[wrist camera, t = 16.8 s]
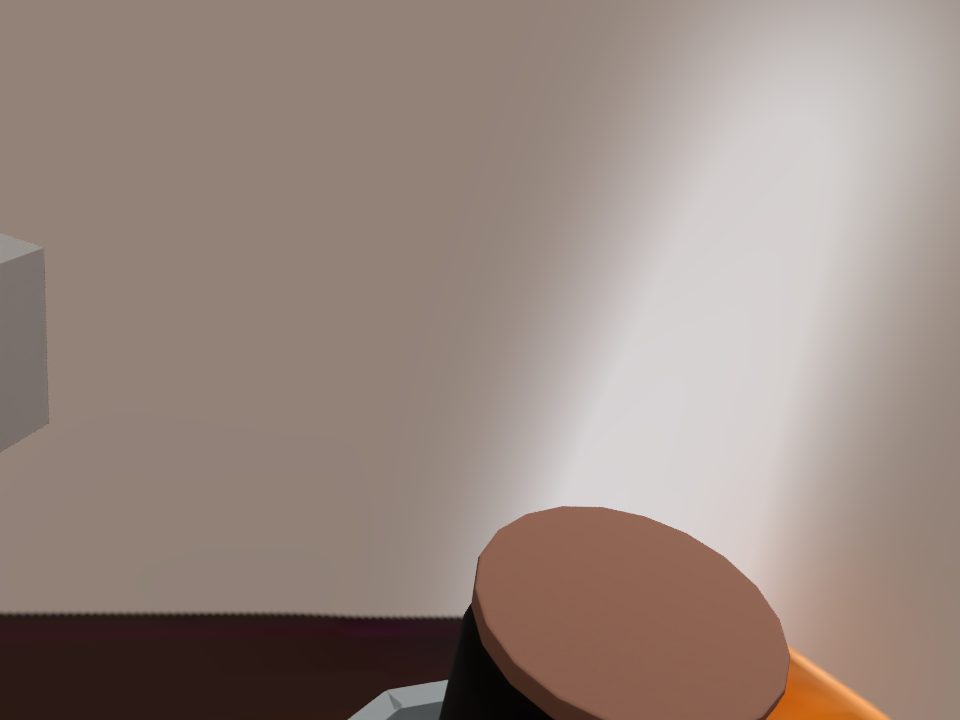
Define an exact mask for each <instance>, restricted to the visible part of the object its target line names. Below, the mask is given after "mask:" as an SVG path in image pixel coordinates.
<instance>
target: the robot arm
mask: <svg viewBox="0 0 960 720" xmlns="http://www.w3.org/2000/svg"><path fill="white" fill-rule="evenodd" d="M45 302H46V301H45V267H44V248H43V247H40V246H37V245H34V244H31V243H28V242H25V241H22V240H19V239H16V238H13V237H10V236H7V235H4V234H1V233H0V452H2V451H3V450H5V449H7V448H8V447H10V446H12V445H13V444H15V443H17V442H18V441H20V440H22V439H23V438H25V437H27V436H28V435H30V434H32V433H33V432H35V431H37V430H38V429H40V428H42V427H43V426H45V425H47V424H48V423H49V408H48V375H47V374H48V373H47V338H46V303H45Z"/></svg>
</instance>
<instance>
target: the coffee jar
mask: <svg viewBox="0 0 960 720" xmlns="http://www.w3.org/2000/svg"><path fill="white" fill-rule="evenodd" d="M789 662H790V653H789V650H788V647H787V643H786V640H785V637H784V633H783V630H782V626H781V623H780V620H779V618H778V617H777V615H776V614H775V612H774V611H773V610H772V608H771V607H770V605H769V604H768V602H767V601H766V600H765V598H764V596H763V595H762V594H761V592H760V591H759V589H758V588H757V587H756V585H755V584H753V583H752V582H751V581H750V580H749V579H748V578H747V577H746V576H745V575H744V574H743V573H741V572H740V571H739V570H738V569H737V568H736V567H735V566H734V565H733V564H732V563H731V562H729V561H728V560H727V559H726V558H725V557H724V556H722V555H721V554H719V553H717V552H716V551H714V550H712V549H711V548H709V547H708V546H706V545H704V544H703V543H701V542H700V541H698V540H696V539H694V538H693V537H691V536H690V535H688V534H687V533H684V532H682V531H679V530H677V529H674V528H672V527H669V526H667V525H665V524H662V523H660V522H657V521H655V520H652V519H650V518H647V517H644V516H640V515H636V514H630V513H626V512H622V511H617V510H612V509H608V508H603V507H566V506H562V507H558V508H553V509H548V510H544V511H539V512H534V513H529V514H526V515H524V516H523V517H521V518H519V519H517V520H516V521H514V522H512V523H510V524H509V525H507V526H505V527H503V528H502V529H500V530H498V532H497V533H496V534H495V535H494V537H493V538H492V540H491V541H490V542H489V544H488V545H487V546H486V548H485V549H484V550H483V552H482V553H481V555H480V556H479V557H478V563H477V570H476V576H475V583H474V590H473V597H472V603H471V604H470V606H469V607H468V609H467V611H466V612H465V614H464V617H463V621H462V625H461V629H460V634H459V638H458V642H457V646H456V650H455V654H454V658H453V662H452V667H451V671H450V675H449V679H448V683H447V687H446V691H445V696H444V700H443V704H442V708H441V712H440V716H439V720H766V718H767V717H768V716H769V715H770V713H771V712H772V711H773V710H774V708H775V707H776V706H777V704H778V703H779V701H780V699H781V698H782V696H783V695H784V693H785V688H786V682H787V675H788V669H789Z"/></svg>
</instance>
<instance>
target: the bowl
mask: <svg viewBox="0 0 960 720" xmlns="http://www.w3.org/2000/svg"><path fill="white" fill-rule="evenodd" d="M447 683H448V680H445V681H439V682H433V683H427V684H421V685H415V686H409V687H403V688H397V689H391V690H387V691H385V692H383V693H382V694H381V695H380V696H378V697H377V698H376V699H374V700H373V701H372V702H370V703H369V704H368V705H366V706H365V707H364V708H363V709H361V710H360V711H359V712H357V713H356V714H355V715H353V716H352V717H351V718H350V719H348V720H439V716H440V712H441V708H442V704H443V700H444V696H445V691H446V687H447Z"/></svg>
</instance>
